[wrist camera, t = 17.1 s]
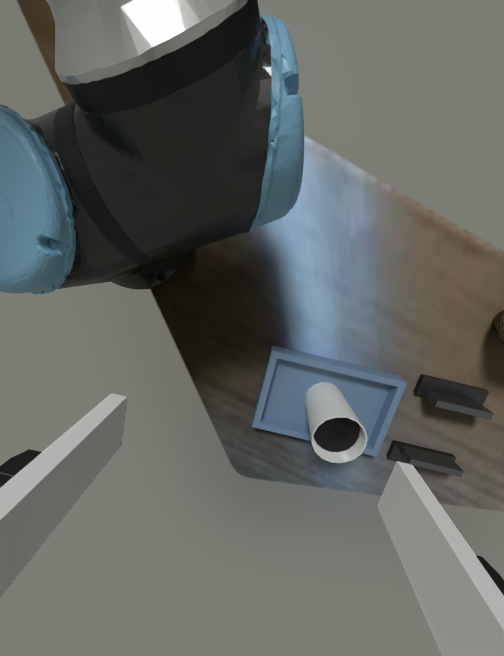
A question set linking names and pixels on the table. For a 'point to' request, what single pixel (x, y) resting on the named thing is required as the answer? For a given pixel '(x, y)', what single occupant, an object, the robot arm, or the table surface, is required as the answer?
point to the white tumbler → (333, 424)
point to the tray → (306, 370)
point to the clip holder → (446, 398)
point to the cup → (499, 324)
